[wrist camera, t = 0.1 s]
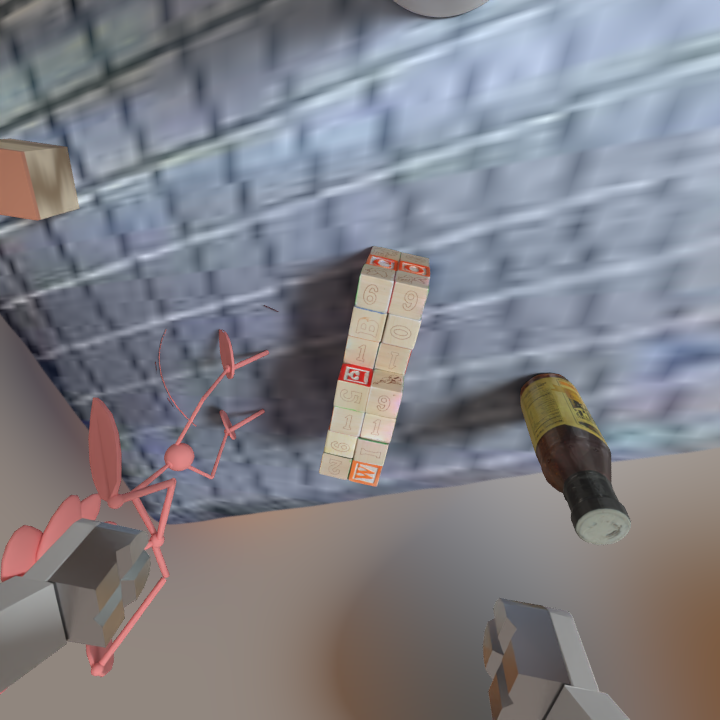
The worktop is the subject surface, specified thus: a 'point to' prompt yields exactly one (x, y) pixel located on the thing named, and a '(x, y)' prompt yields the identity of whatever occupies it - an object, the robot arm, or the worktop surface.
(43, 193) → the maple cube
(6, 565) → the coral stemmed figure
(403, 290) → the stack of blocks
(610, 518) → the sauce bottle
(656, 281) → the worktop surface
